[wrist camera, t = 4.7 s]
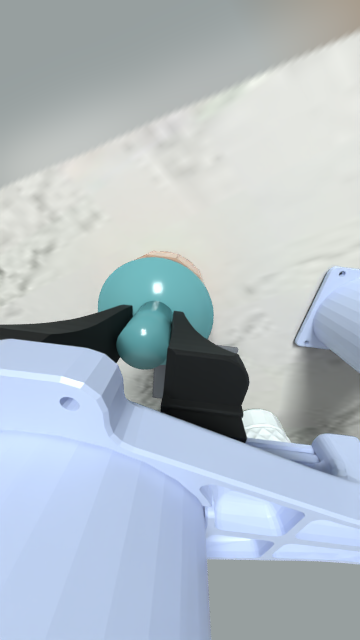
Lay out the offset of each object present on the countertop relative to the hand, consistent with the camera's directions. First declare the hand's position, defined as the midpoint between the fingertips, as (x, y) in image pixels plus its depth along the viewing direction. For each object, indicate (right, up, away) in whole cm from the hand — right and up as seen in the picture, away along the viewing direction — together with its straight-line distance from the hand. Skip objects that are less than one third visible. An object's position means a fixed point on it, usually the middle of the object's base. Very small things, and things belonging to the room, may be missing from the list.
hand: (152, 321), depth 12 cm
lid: (0, 0, +2) cm, 2 cm away
